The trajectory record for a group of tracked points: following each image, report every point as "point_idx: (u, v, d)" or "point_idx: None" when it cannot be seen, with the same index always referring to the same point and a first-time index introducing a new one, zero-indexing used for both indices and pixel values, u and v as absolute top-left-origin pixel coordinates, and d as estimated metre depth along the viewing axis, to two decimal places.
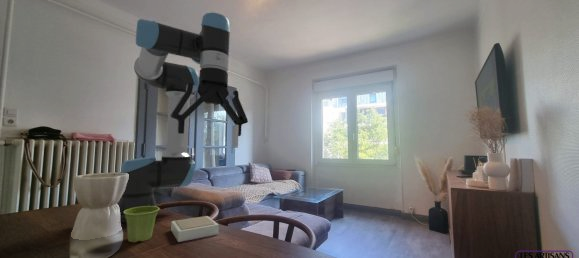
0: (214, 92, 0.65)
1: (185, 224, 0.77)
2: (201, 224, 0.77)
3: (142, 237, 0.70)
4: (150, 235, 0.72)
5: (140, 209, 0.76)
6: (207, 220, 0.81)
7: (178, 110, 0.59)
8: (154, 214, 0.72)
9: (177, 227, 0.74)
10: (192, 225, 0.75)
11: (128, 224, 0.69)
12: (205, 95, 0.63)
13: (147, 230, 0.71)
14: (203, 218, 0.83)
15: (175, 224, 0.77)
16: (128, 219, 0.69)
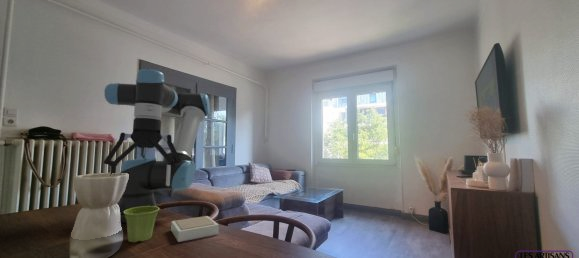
0: (146, 138, 0.74)
1: (185, 224, 0.77)
2: (201, 224, 0.77)
3: (142, 237, 0.70)
4: (150, 235, 0.72)
5: (140, 209, 0.76)
6: (207, 220, 0.81)
7: (110, 157, 0.68)
8: (154, 214, 0.72)
9: (177, 227, 0.74)
10: (192, 225, 0.75)
11: (128, 224, 0.69)
12: (137, 142, 0.72)
13: (147, 230, 0.71)
14: (203, 218, 0.83)
15: (175, 224, 0.77)
16: (128, 219, 0.69)
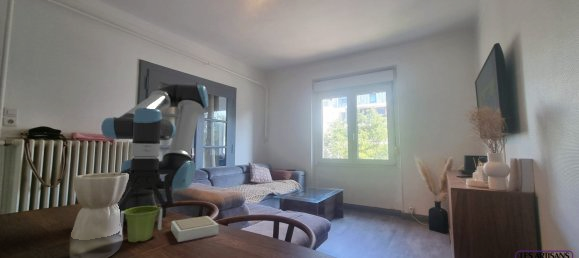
0: (144, 178, 0.73)
1: (185, 224, 0.77)
2: (201, 224, 0.77)
3: (142, 237, 0.70)
4: (150, 235, 0.72)
5: (140, 209, 0.76)
6: (207, 220, 0.81)
7: None
8: (154, 214, 0.72)
9: (177, 227, 0.74)
10: (192, 225, 0.75)
11: (128, 224, 0.69)
12: (135, 184, 0.71)
13: (147, 230, 0.71)
14: (203, 218, 0.83)
15: (175, 224, 0.77)
16: (128, 219, 0.69)
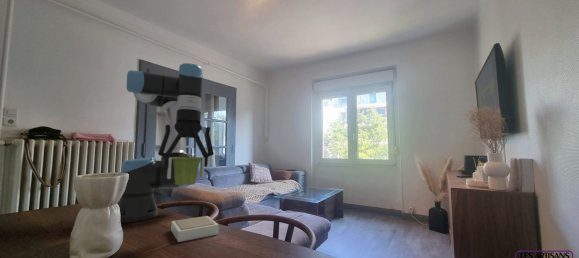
0: (188, 128, 0.79)
1: (185, 224, 0.77)
2: (201, 224, 0.77)
3: (188, 181, 0.75)
4: (194, 181, 0.78)
5: None
6: (207, 220, 0.81)
7: (162, 149, 0.74)
8: (198, 161, 0.78)
9: (177, 227, 0.74)
10: (192, 225, 0.75)
11: (175, 168, 0.75)
12: (181, 132, 0.77)
13: (192, 175, 0.76)
14: (203, 218, 0.83)
15: (175, 224, 0.77)
16: (175, 163, 0.75)
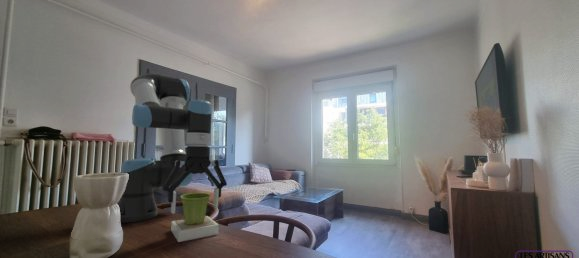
0: (198, 164, 0.79)
1: (185, 224, 0.77)
2: (201, 224, 0.77)
3: (198, 220, 0.76)
4: (203, 219, 0.79)
5: (192, 195, 0.83)
6: (207, 220, 0.81)
7: (168, 184, 0.74)
8: (207, 199, 0.79)
9: (177, 227, 0.74)
10: (192, 225, 0.75)
11: (185, 208, 0.76)
12: (190, 169, 0.77)
13: (201, 213, 0.77)
14: None
15: (175, 224, 0.77)
16: (186, 203, 0.76)
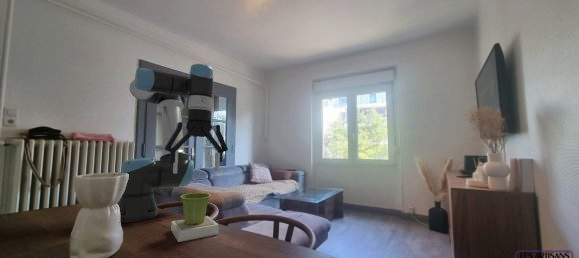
0: (199, 128, 0.80)
1: (185, 224, 0.77)
2: (201, 224, 0.77)
3: (198, 220, 0.76)
4: (203, 219, 0.79)
5: (192, 195, 0.83)
6: (207, 220, 0.81)
7: (170, 144, 0.75)
8: (207, 199, 0.79)
9: (177, 227, 0.74)
10: (192, 225, 0.75)
11: (185, 208, 0.76)
12: (192, 131, 0.78)
13: (202, 213, 0.77)
14: None
15: (175, 224, 0.77)
16: (186, 203, 0.76)
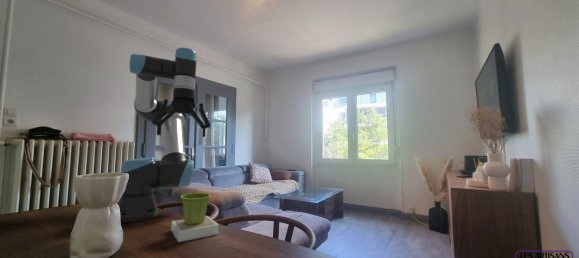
0: (184, 105, 0.89)
1: (185, 224, 0.77)
2: (201, 224, 0.77)
3: (198, 220, 0.76)
4: (203, 219, 0.79)
5: (192, 195, 0.83)
6: (207, 220, 0.81)
7: (156, 118, 0.84)
8: (207, 199, 0.79)
9: (177, 227, 0.74)
10: (192, 225, 0.75)
11: (185, 208, 0.76)
12: (177, 107, 0.87)
13: (202, 213, 0.77)
14: None
15: (175, 224, 0.77)
16: (186, 203, 0.76)
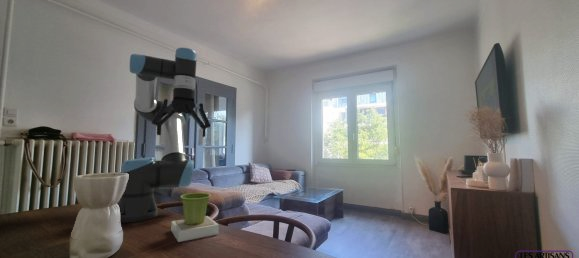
0: (184, 105, 0.89)
1: (185, 224, 0.77)
2: (201, 224, 0.77)
3: (198, 220, 0.76)
4: (203, 219, 0.79)
5: (192, 195, 0.83)
6: (207, 220, 0.81)
7: (156, 118, 0.84)
8: (207, 199, 0.79)
9: (177, 227, 0.74)
10: (192, 225, 0.75)
11: (185, 208, 0.76)
12: (177, 107, 0.87)
13: (202, 213, 0.77)
14: None
15: (175, 224, 0.77)
16: (186, 203, 0.76)
